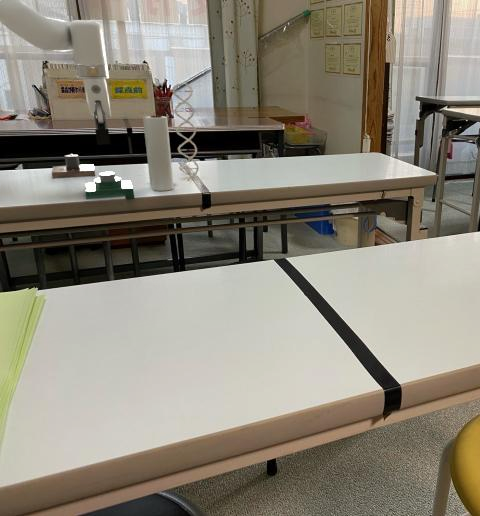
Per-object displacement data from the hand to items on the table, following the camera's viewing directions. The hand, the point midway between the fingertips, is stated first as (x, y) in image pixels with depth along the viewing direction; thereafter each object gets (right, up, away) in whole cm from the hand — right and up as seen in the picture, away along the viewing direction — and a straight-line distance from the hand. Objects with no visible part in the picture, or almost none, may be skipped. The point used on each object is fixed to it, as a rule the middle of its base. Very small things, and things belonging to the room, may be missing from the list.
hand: (103, 143), depth 140 cm
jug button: (-1, -10, +4) cm, 10 cm away
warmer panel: (-22, -5, +27) cm, 35 cm away
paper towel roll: (+11, -10, +16) cm, 22 cm away
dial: (-22, -2, +26) cm, 34 cm away
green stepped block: (-1, -14, +5) cm, 15 cm away
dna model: (+15, -5, +29) cm, 33 cm away
